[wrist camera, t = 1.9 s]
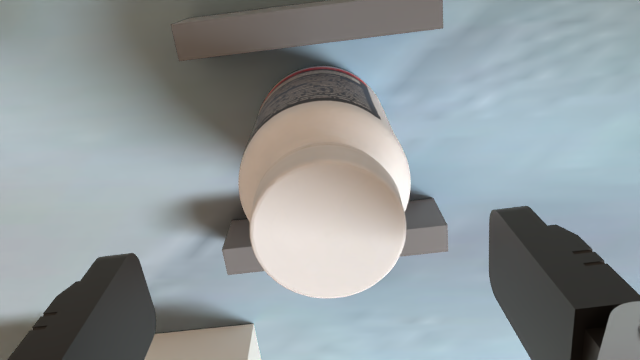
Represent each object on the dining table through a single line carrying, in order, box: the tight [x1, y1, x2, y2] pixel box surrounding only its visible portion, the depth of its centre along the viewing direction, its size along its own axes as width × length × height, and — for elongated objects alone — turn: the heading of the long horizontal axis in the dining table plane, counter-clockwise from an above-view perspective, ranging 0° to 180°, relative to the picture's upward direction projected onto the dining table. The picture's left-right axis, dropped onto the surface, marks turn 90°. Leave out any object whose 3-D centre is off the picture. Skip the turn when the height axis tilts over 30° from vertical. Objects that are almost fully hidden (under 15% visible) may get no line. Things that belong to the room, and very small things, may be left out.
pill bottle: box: [239, 66, 411, 298], centre depth 16 cm, size 5×5×9 cm
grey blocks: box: [171, 0, 448, 275], centre depth 19 cm, size 9×10×2 cm
